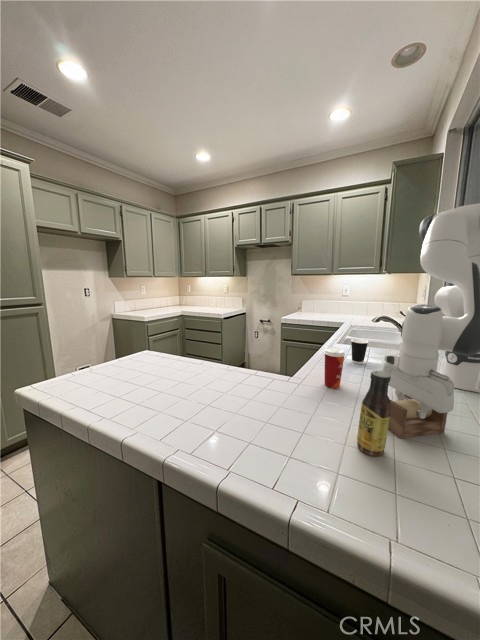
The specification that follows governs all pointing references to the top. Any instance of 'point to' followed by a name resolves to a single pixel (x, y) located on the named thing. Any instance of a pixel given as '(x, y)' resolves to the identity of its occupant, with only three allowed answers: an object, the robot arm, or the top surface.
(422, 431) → the holder
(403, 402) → the roll
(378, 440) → the sauce bottle
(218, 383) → the top surface
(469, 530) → the top surface
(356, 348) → the dixie cup
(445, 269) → the robot arm
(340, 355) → the paper cup
